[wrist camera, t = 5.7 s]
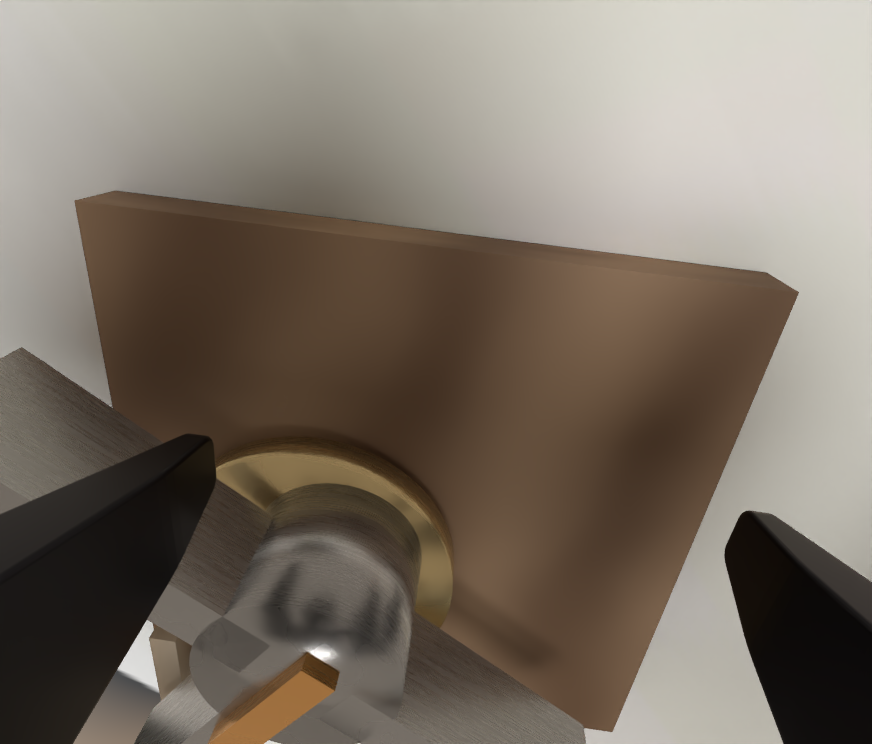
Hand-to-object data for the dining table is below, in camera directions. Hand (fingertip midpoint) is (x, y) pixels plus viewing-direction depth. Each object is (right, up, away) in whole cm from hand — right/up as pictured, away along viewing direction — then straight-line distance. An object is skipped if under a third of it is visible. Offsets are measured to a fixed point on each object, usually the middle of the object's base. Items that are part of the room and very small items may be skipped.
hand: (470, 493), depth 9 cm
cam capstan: (-5, -4, +7) cm, 10 cm away
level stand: (-1, -2, +8) cm, 8 cm away
